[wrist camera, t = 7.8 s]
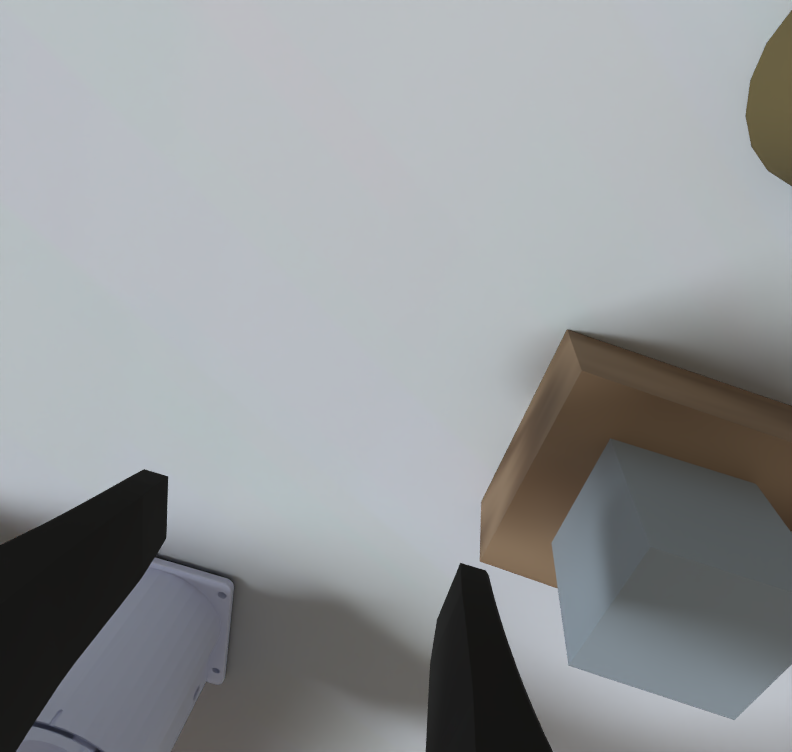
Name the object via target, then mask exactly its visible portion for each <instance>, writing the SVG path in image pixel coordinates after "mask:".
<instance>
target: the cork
mask: <svg viewBox="0 0 792 752" xmlns="http://www.w3.org/2000/svg"><path fill="white" fill-rule="evenodd" d="M746 120H747V125H748V131H749V136H750V141H751V146H752V148H753V149H754V151H755V152H756V154H757V155H758V157H759V158H760V160H761V161H762V163H763V164H764V166H765V167H766V169H767V170H768V171H769V172H771V173H772V174H774V175H775V176H777V177H778V178H780V179H782V180H783V181H785V182H786V183H788V184H789V185H791V186H792V11H791V12H790V13H789V15H788V16H787V17H786V18H785V20H784V21H783V22H782V24H781V25H780V26H779V28H778V29H777V30H776V32H775V33H774V34H773V36H772V37H771V38H770V40H769V41H768V42H767V44H766V46H765V48H764V51H763V53H762V55H761V57H760V60H759V62H758V64H757V67H756V69H755V71H754V73H753V76H752V78H751V80H750V87H749V95H748V102H747V109H746Z"/></svg>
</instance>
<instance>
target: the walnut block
mask: <svg viewBox="0 0 792 752" xmlns="http://www.w3.org/2000/svg"><path fill="white" fill-rule="evenodd" d="M610 438H611V439H614V440H617V441H620V442H624V443H627V444H630V445H633V446H636V447H640V448H643V449H646V450H649V451H652V452H656V453H659V454H662V455H665V456H668V457H672V458H675V459H678V460H681V461H684V462H688V463H691V464H694V465H697V466H700V467H703V468H707V469H710V470H713V471H716V472H719V473H723V474H726V475H729V476H732V477H735V478H739V479H742V480H745V481H748V482H751V483H755V484H756V485H757V486H758V487H759V489H760V490H761V491H762V493H763V494H764V496H765V497H766V498H767V500H768V501H769V502H770V504H771V505H772V507H773V508H774V509H775V511H776V512H777V514H778V515H779V516H780V518H781V519H782V520H783V522H784V523H785V525H786V526H787V527H788V529H789V530H790V531H792V406H790V405H787V404H784V403H781V402H778V401H775V400H772V399H769V398H767V397H764V396H761V395H758V394H755V393H752V392H749V391H746V390H743V389H740V388H737V387H734V386H731V385H728V384H726V383H723V382H720V381H717V380H714V379H711V378H708V377H705V376H702V375H699V374H696V373H693V372H690V371H687V370H685V369H682V368H679V367H676V366H673V365H670V364H667V363H664V362H661V361H658V360H655V359H652V358H649V357H646V356H643V355H641V354H638V353H635V352H632V351H629V350H626V349H623V348H620V347H617V346H614V345H611V344H608V343H605V342H602V341H600V340H597V339H594V338H591V337H588V336H585V335H582V334H579V333H576V332H573V331H570V330H566V332H565V334H564V336H563V338H562V340H561V342H560V344H559V346H558V348H557V350H556V353H555V355H554V357H553V359H552V361H551V363H550V365H549V367H548V369H547V371H546V373H545V375H544V377H543V379H542V381H541V383H540V385H539V387H538V389H537V391H536V393H535V395H534V397H533V399H532V401H531V403H530V405H529V407H528V409H527V411H526V413H525V415H524V417H523V419H522V421H521V423H520V425H519V427H518V429H517V431H516V433H515V435H514V437H513V439H512V441H511V443H510V445H509V447H508V449H507V451H506V453H505V455H504V457H503V459H502V461H501V463H500V465H499V467H498V469H497V471H496V473H495V475H494V477H493V479H492V481H491V483H490V485H489V487H488V489H487V491H486V493H485V495H484V497H483V499H482V501H481V534H480V562H483V563H486V564H489V565H492V566H495V567H498V568H500V569H503V570H506V571H509V572H512V573H515V574H518V575H521V576H523V577H526V578H529V579H532V580H535V581H538V582H541V583H544V584H546V585H549V586H552V587H555V588H558V586H557V579H556V572H555V565H554V558H553V550H552V541H553V539H554V537H555V536H556V534H557V532H558V530H559V529H560V527H561V525H562V523H563V521H564V520H565V518H566V516H567V514H568V513H569V511H570V509H571V507H572V505H573V504H574V502H575V500H576V498H577V497H578V495H579V493H580V491H581V489H582V488H583V486H584V484H585V482H586V481H587V479H588V477H589V475H590V474H591V472H592V470H593V468H594V466H595V465H596V463H597V461H598V459H599V458H600V456H601V454H602V452H603V450H604V449H605V447H606V445H607V443H608V442H609V440H610Z"/></svg>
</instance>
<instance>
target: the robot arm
mask: <svg viewBox="0 0 792 752" xmlns="http://www.w3.org/2000/svg"><path fill="white" fill-rule="evenodd" d="M167 497H168V476H165V475H161V474H158V473H155V472H151V471H148V470H145V469H144V470H142V471H140V472H138V473H136V474H134V475H133V476H131V477H129V478H127V479H125V480H124V481H122V482H120V483H118V484H116V485H115V486H113V487H111V488H109V489H107V490H106V491H104V492H102V493H100V494H98V495H97V496H95V497H93V498H91V499H89V500H88V501H86V502H84V503H82V504H80V505H79V506H77V507H75V508H73V509H71V510H69V511H67V512H65V513H64V514H62V515H60V516H58V517H56V518H54V519H52V520H50V521H49V522H47V523H45V524H43V525H41V526H39V527H37V528H35V529H33V530H30V531H28V532H26V533H24V534H22V535H20V536H18V537H16V538H14V539H12V540H10V541H8V542H6V543H4V544H2V545H0V752H171V750H172V748H173V746H174V744H175V742H176V740H177V738H178V736H179V735H180V733H181V731H182V729H183V727H184V725H185V723H186V721H187V719H188V717H189V715H190V713H191V711H192V709H193V707H194V705H195V703H196V701H197V699H198V697H199V695H200V693H201V691H202V689H203V687H204V685H205V683H206V682H208V683H212V684H215V685H220V684H222V683H223V681H224V678H225V673H226V663H227V653H228V643H229V632H230V622H231V612H232V602H233V592H234V584H233V583H232V581H230V580H229V579H227V578H224V577H221V576H217V575H214V574H210V573H207V572H203V571H200V570H197V569H193V568H190V567H186V566H183V565H180V564H176V563H173V562H169V561H166V560H162V559H159V558H156V557H155V556H156V554H157V553H158V551H159V549H160V548H161V546H162V544H163V543H164V541H165V539H166V532H167ZM426 752H553V751H552V749H551V747H550V745H549V743H548V741H547V738H546V736H545V734H544V732H543V730H542V728H541V725H540V723H539V721H538V718H537V716H536V714H535V712H534V709H533V707H532V704H531V702H530V700H529V697H528V695H527V692H526V690H525V687H524V685H523V682H522V680H521V677H520V674H519V672H518V669H517V666H516V664H515V661H514V658H513V655H512V652H511V649H510V647H509V644H508V641H507V638H506V635H505V632H504V629H503V626H502V622H501V619H500V616H499V612H498V609H497V606H496V602H495V598H494V595H493V591H492V587H491V583H490V579H489V575H488V573H487V572H486V570H482V569H479V568H475V567H472V566H469V565H465V564H462V563H460V565H459V568H458V570H457V573H456V575H455V577H454V580H453V582H452V585H451V587H450V590H449V592H448V594H447V597H446V599H445V602H444V604H443V607H442V609H441V611H440V614H439V616H438V619H437V624H436V630H435V636H434V642H433V649H432V656H431V663H430V678H429V697H428V717H427V738H426Z"/></svg>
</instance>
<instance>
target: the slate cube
mask: <svg viewBox="0 0 792 752" xmlns="http://www.w3.org/2000/svg"><path fill="white" fill-rule="evenodd" d="M552 550H553V558H554V565H555V572H556V579H557V586H558V593H559V600H560V608H561V615H562V622H563V629H564V636H565V643H566V650H567V658H568V665H569V666H571V667H575V668H578V669H581V670H584V671H587V672H590V673H593V674H596V675H599V676H602V677H605V678H608V679H611V680H614V681H617V682H620V683H623V684H626V685H629V686H632V687H635V688H638V689H641V690H645V691H648V692H651V693H654V694H657V695H660V696H663V697H666V698H669V699H672V700H675V701H678V702H681V703H684V704H687V705H690V706H693V707H696V708H699V709H702V710H705V711H708V712H711V713H715V714H718V715H721V716H724V717H727V718H730V719H733V720H735V719H736V718H737V717H738V716H739V715H740V714H741V713H742V712H743V711H744V710H745V709H746V708H747V707H748V706H749V705H750V704H751V703H752V702H753V701H754V700H755V699H756V698H758V697H759V696H760V695H761V694H762V693H763V692H764V691H765V690H766V689H767V688H768V687H769V686H770V685H771V684H772V683H773V682H774V681H775V680H776V679H777V678H778V677H779V676H780V675H781V674H782V673H783V672H784V671H785V670H786V669H787V668H788V667H789V666H790V665H791V664H792V533H791V531H790V530H789V529H788V527H787V526H786V525H785V523H784V522H783V520H782V519H781V518H780V516H779V515H778V514H777V512H776V511H775V509H774V508H773V507H772V505H771V504H770V502H769V501H768V500H767V498H766V497H765V496H764V494H763V493H762V491H761V490H760V489H759V487H758V486H757V485H756V484H755V483H751V482H748V481H745V480H742V479H739V478H735V477H732V476H729V475H726V474H723V473H719V472H716V471H713V470H710V469H707V468H703V467H700V466H697V465H694V464H691V463H688V462H684V461H681V460H678V459H675V458H672V457H668V456H665V455H662V454H659V453H656V452H652V451H649V450H646V449H643V448H640V447H636V446H633V445H630V444H627V443H624V442H620V441H617V440H614V439H611V438H610V440H609V442H608V443H607V445H606V447H605V449H604V450H603V452H602V454H601V456H600V458H599V459H598V461H597V463H596V465H595V466H594V468H593V470H592V472H591V474H590V475H589V477H588V479H587V481H586V482H585V484H584V486H583V488H582V489H581V491H580V493H579V495H578V497H577V498H576V500H575V502H574V504H573V505H572V507H571V509H570V511H569V513H568V514H567V516H566V518H565V520H564V521H563V523H562V525H561V527H560V529H559V530H558V532H557V534H556V536H555V537H554V539H553V541H552Z"/></svg>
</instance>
